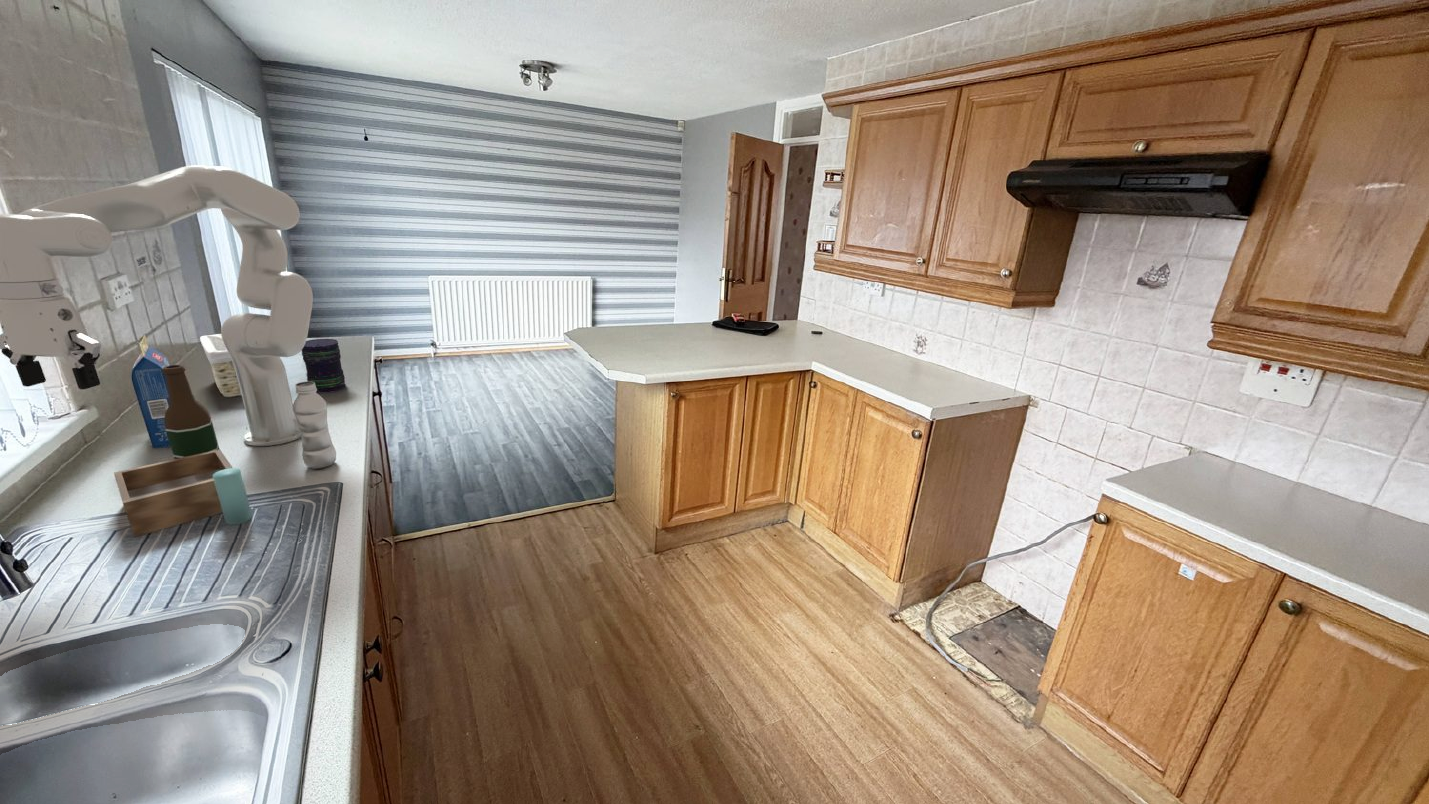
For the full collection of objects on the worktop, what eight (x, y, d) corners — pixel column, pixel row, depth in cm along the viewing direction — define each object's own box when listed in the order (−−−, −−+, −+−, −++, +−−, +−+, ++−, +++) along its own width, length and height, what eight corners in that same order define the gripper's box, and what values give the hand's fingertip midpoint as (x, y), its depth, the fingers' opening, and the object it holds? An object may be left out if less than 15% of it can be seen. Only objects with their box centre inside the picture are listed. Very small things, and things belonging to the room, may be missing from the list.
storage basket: (286, 390, 175) (276, 344, 170) (218, 400, 164) (205, 352, 159) (272, 371, 191) (263, 329, 186) (210, 380, 180) (198, 335, 175)
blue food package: (189, 427, 146) (162, 333, 138) (187, 443, 138) (158, 344, 129) (156, 432, 142) (126, 336, 134) (152, 449, 134) (120, 347, 125)
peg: (249, 511, 111) (237, 466, 108) (254, 519, 109) (242, 473, 106) (223, 519, 109) (210, 472, 105) (228, 527, 106) (215, 480, 103)
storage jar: (312, 384, 181) (303, 339, 176) (348, 382, 185) (340, 338, 180) (306, 394, 173) (296, 347, 168) (343, 391, 177) (335, 345, 172)
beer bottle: (186, 480, 121) (154, 374, 113) (172, 470, 125) (141, 366, 117) (230, 467, 127) (203, 366, 119) (216, 458, 131) (189, 359, 123)
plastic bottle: (302, 474, 127) (284, 390, 120) (306, 461, 132) (289, 380, 125) (336, 469, 129) (320, 387, 123) (339, 457, 135) (324, 378, 128)
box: (227, 478, 123) (220, 449, 121) (245, 505, 113) (237, 474, 111) (124, 504, 111) (113, 472, 109) (134, 537, 102) (122, 503, 99)
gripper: (103, 290, 99) (131, 382, 105) (3, 284, 99) (37, 377, 105) (56, 296, 92) (89, 395, 98) (-52, 290, 92) (-12, 389, 98)
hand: (62, 385), depth 101 cm, fingers open, 9 cm apart
